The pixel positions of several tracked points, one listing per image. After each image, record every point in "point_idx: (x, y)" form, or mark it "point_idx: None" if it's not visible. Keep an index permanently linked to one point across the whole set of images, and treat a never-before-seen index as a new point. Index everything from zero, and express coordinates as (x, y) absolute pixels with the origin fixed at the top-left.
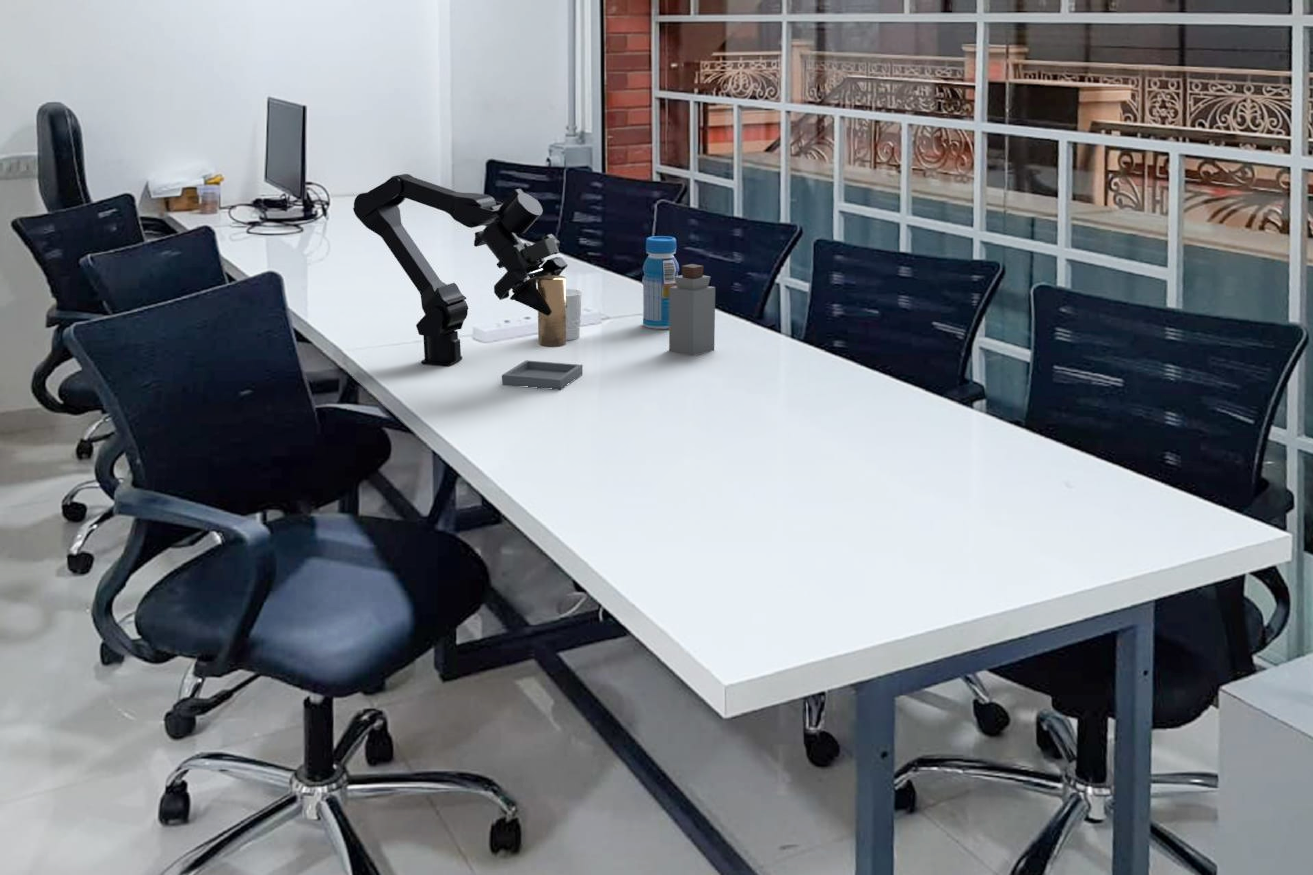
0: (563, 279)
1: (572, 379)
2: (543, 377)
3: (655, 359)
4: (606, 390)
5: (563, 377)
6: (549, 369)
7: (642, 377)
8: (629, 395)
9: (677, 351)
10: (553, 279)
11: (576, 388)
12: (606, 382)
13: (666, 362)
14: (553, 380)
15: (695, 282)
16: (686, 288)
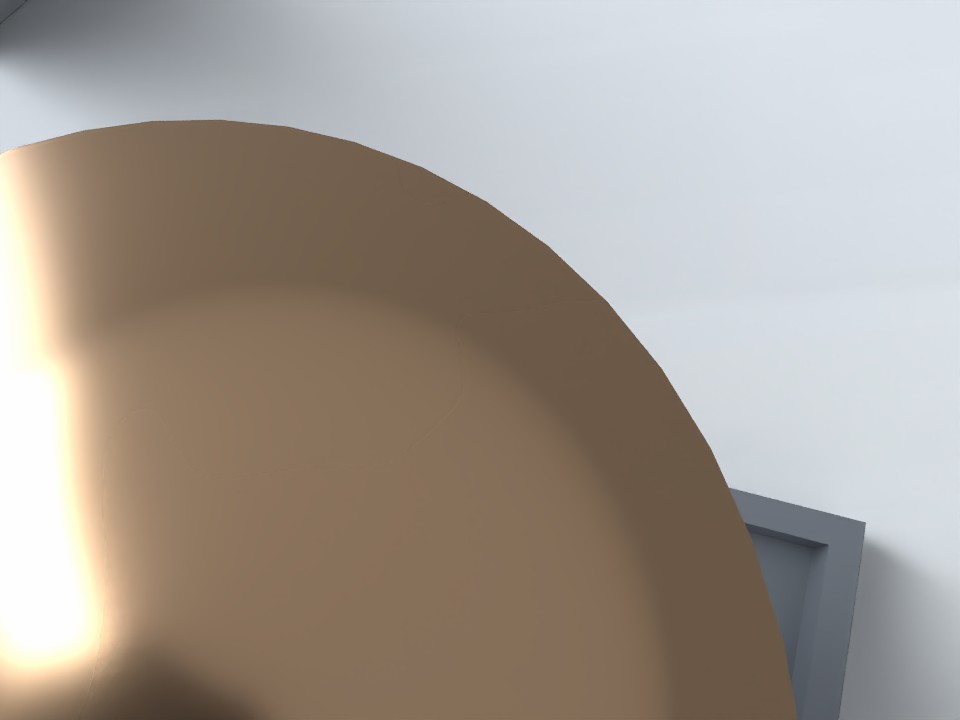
0: (399, 159)
1: None
2: (812, 662)
3: (132, 89)
4: (791, 253)
5: (789, 507)
6: None
7: (490, 106)
8: (878, 125)
9: (8, 10)
10: (444, 596)
11: (772, 431)
12: (610, 272)
13: (196, 36)
14: (855, 577)
15: None
16: None
